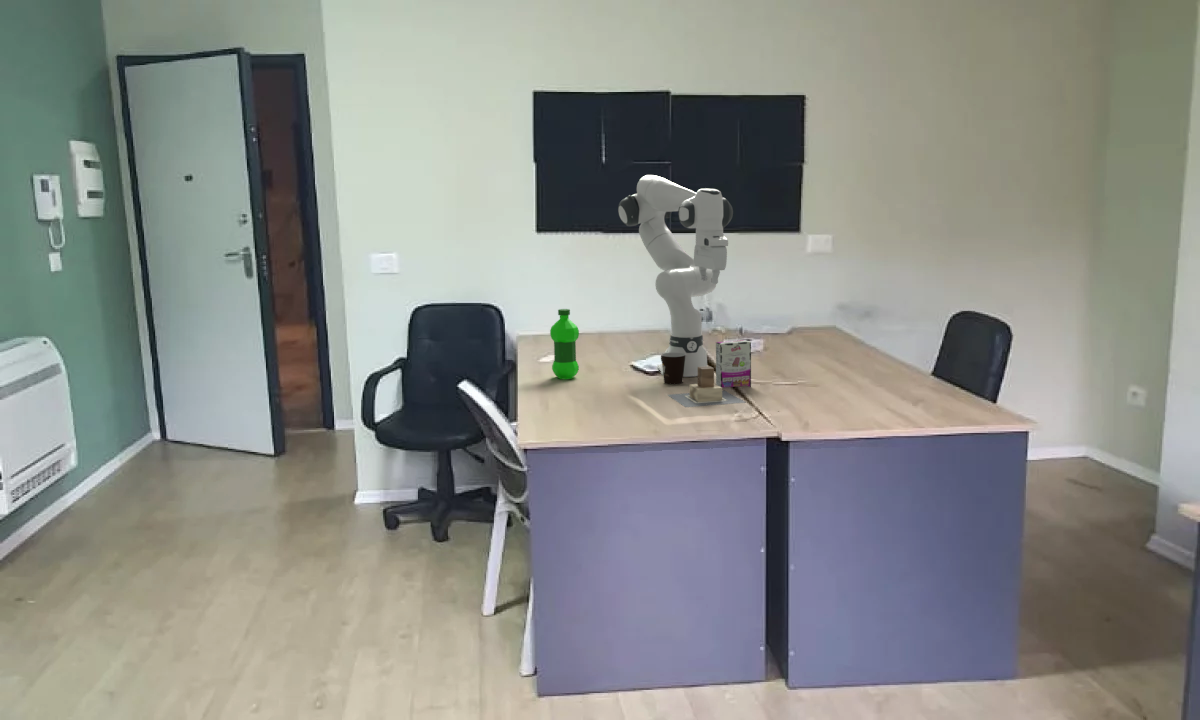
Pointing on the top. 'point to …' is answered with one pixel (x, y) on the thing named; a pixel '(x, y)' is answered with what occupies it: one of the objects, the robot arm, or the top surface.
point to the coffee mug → (673, 367)
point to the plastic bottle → (564, 346)
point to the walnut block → (705, 376)
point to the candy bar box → (733, 363)
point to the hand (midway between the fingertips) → (709, 282)
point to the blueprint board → (689, 402)
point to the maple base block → (705, 393)
